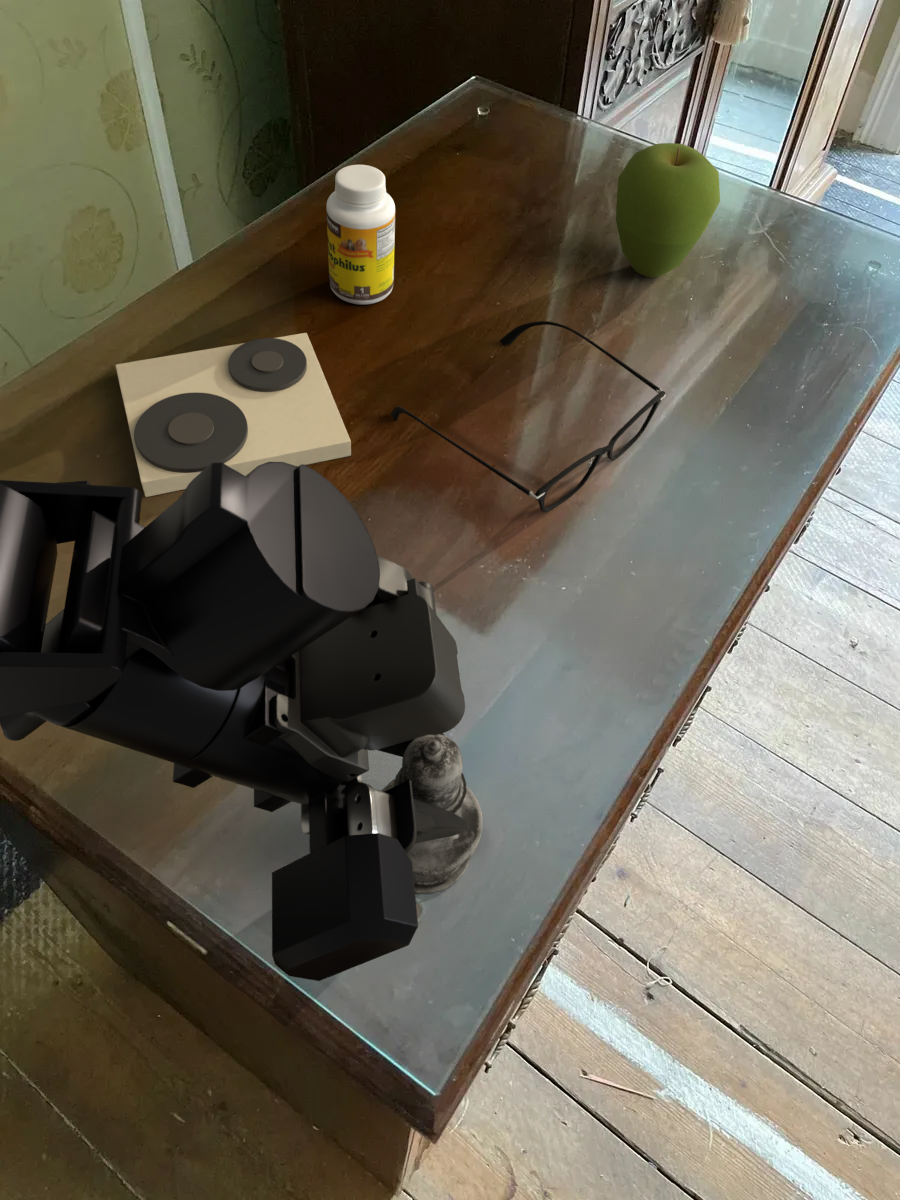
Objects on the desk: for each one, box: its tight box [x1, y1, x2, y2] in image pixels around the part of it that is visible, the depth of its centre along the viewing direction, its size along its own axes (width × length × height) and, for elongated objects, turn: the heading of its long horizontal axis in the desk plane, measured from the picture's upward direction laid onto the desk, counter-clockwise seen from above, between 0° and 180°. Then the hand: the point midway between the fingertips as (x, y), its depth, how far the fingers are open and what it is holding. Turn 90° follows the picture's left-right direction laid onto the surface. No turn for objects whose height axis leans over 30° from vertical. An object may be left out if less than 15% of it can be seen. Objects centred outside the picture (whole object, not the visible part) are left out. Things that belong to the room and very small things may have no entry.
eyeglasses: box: [390, 320, 667, 513], centre depth 72 cm, size 16×16×4 cm
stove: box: [114, 332, 352, 498], centre depth 72 cm, size 15×13×2 cm
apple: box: [615, 142, 721, 279], centre depth 83 cm, size 9×8×12 cm
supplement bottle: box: [325, 164, 396, 306], centre depth 79 cm, size 6×6×10 cm
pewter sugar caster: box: [381, 734, 484, 895], centre depth 48 cm, size 6×6×12 cm
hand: (456, 793), depth 48 cm, fingers closed on pewter sugar caster, 3 cm apart
